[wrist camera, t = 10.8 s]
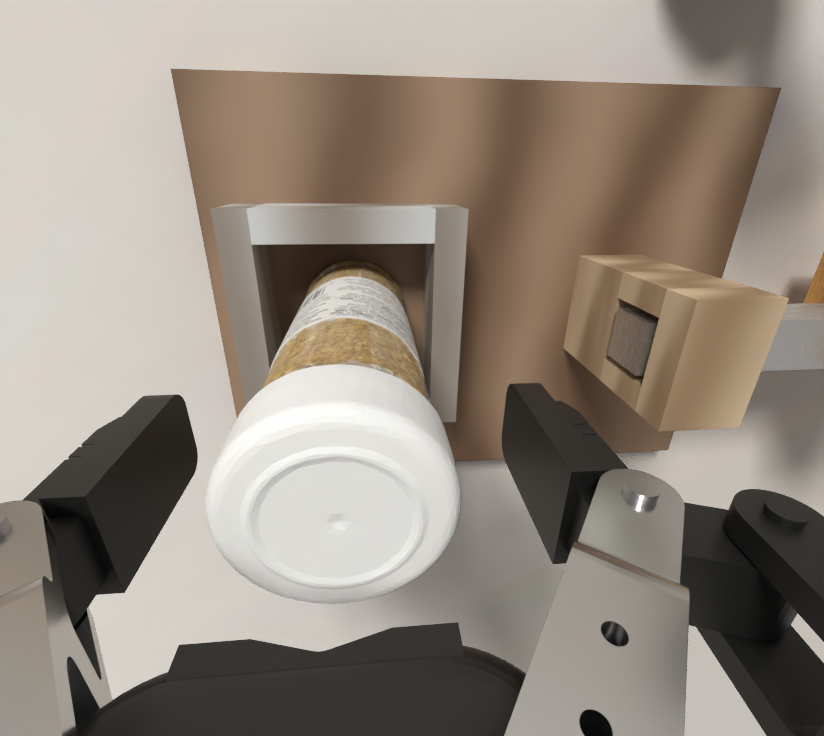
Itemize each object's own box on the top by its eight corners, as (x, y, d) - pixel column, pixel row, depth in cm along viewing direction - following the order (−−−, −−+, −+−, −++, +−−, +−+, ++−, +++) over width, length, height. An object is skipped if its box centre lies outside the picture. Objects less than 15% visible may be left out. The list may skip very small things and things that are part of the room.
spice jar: (350, 370, 21) (325, 647, 9) (283, 299, 19) (134, 520, 7) (424, 313, 20) (514, 532, 8) (362, 234, 18) (351, 354, 6)
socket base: (751, 93, 19) (1057, 30, 10) (652, 435, 26) (785, 557, 18) (186, 77, 17) (6, -21, 8) (254, 456, 24) (195, 605, 16)
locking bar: (880, 250, 20) (1223, 300, 12) (836, 346, 22) (1104, 444, 14) (582, 252, 19) (745, 311, 11) (564, 355, 21) (690, 469, 13)
